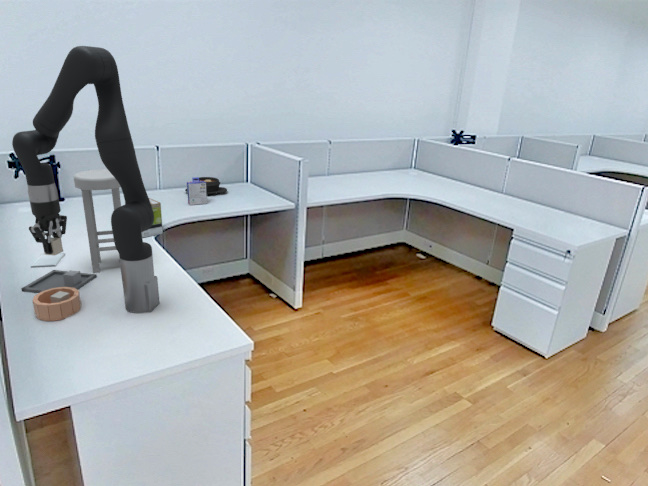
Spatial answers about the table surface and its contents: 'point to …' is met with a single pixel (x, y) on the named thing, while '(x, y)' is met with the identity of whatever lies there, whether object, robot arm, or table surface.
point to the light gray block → (72, 278)
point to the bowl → (56, 304)
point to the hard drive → (48, 260)
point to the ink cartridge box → (196, 192)
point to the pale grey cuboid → (59, 297)
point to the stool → (86, 184)
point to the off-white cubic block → (56, 246)
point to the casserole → (212, 185)
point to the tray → (55, 281)
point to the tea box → (155, 220)
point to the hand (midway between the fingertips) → (54, 251)
